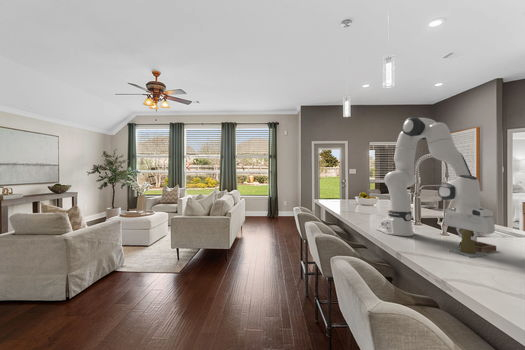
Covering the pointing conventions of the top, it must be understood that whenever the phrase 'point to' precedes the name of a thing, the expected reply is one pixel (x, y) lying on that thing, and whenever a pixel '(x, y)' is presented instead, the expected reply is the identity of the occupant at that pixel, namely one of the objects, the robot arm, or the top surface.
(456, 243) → the top surface
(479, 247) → the walnut cradle
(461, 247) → the olive green figurine
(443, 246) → the top surface
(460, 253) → the rubber mat
